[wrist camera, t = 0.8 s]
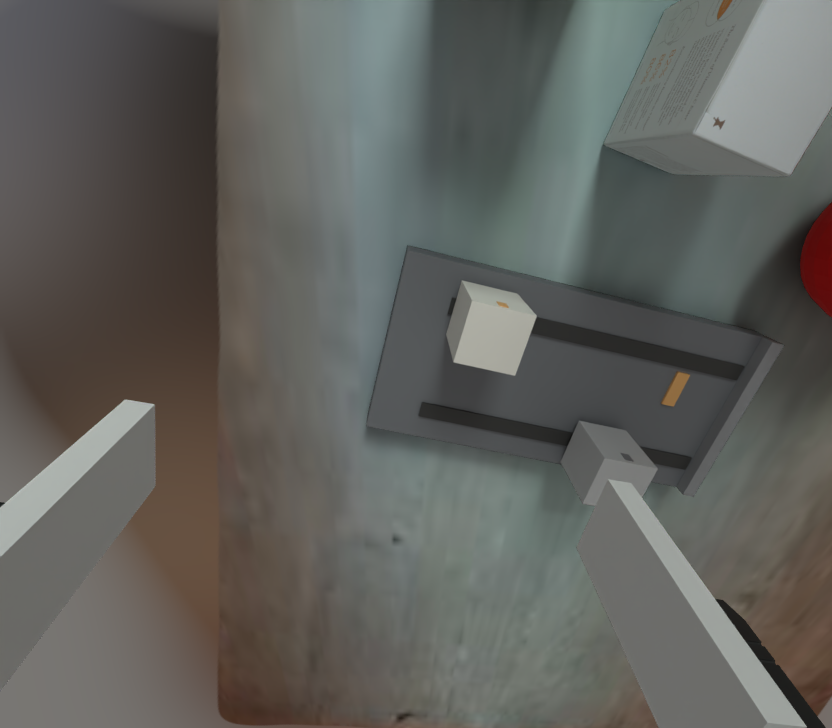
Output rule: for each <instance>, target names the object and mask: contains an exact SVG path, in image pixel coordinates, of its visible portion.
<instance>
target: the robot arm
mask: <svg viewBox="0 0 832 728" xmlns="http://www.w3.org/2000/svg"><path fill="white" fill-rule="evenodd" d="M154 487H155V405H154V404H149V403H143V402H137V401H131V400H124V401H123V402H122V403H121V404H120V405H118V406H117V407H116V408H115V409H114V410H113V411H111V412H110V413H109V414H108V415H107V416H106V417H105V418H103V419H102V420H101V421H100V422H99V423H97V424H96V425H95V426H94V427H93V428H92V429H91V430H89V431H88V432H87V433H86V434H85V435H84V436H83V437H81V438H80V439H79V440H78V441H77V442H76V443H74V444H73V445H72V446H71V447H70V448H69V449H67V450H66V451H65V452H64V453H63V454H62V455H61V456H59V457H58V458H57V459H56V460H55V461H54V462H52V463H51V464H50V465H49V466H48V467H47V468H45V469H44V470H43V471H42V472H41V473H40V474H39V475H37V476H36V477H35V478H34V479H33V480H32V481H30V482H29V483H28V484H27V485H26V486H25V487H24V488H22V489H21V490H20V491H19V492H18V493H16V494H15V495H14V496H13V497H12V498H11V499H9V500H8V501H7V502H6V503H1V502H0V691H1V690H2V688H3V687H4V686H5V684H6V683H7V682H8V680H9V679H10V678H11V676H12V675H13V674H14V673H15V671H16V670H17V668H18V667H19V666H20V665H21V663H22V662H23V661H24V659H25V658H26V656H27V655H28V654H29V653H30V651H31V650H32V649H33V647H34V646H35V645H36V643H37V642H38V641H39V639H40V638H41V637H42V635H43V634H44V633H45V631H46V630H47V629H48V628H49V626H50V625H51V624H52V622H53V621H54V620H55V618H56V617H57V616H58V614H59V613H60V612H61V610H62V609H63V608H64V606H65V605H66V604H67V602H68V601H69V600H70V598H71V597H72V596H73V594H74V593H75V592H76V590H77V589H78V588H79V586H80V585H81V584H82V583H83V581H84V580H85V579H86V577H87V576H88V575H89V573H90V572H91V571H92V569H93V568H94V567H95V565H96V564H97V562H98V561H99V560H100V559H101V557H102V556H103V555H104V553H105V552H106V551H107V549H108V548H109V546H110V545H111V544H112V543H113V541H114V540H115V539H116V538H117V536H118V535H119V534H120V532H121V531H122V529H123V528H124V527H125V526H126V524H127V523H128V522H129V520H130V519H131V518H132V516H133V515H134V514H135V512H136V511H137V509H138V508H139V507H140V506H141V504H142V503H143V502H144V500H145V499H146V498H147V496H148V495H149V494H150V492H151V491H152V490H153V489H154ZM576 548H577V550H578V552H579V554H580V557H581V559H582V561H583V563H584V565H585V567H586V570H587V572H588V574H589V576H590V578H591V581H592V583H593V585H594V587H595V589H596V592H597V594H598V596H599V598H600V600H601V602H602V605H603V607H604V609H605V611H606V613H607V616H608V618H609V620H610V622H611V624H612V627H613V629H614V631H615V633H616V635H617V637H618V640H619V642H620V644H621V646H622V648H623V651H624V653H625V655H626V657H627V659H628V661H629V664H630V666H631V668H632V670H633V672H634V675H635V677H636V679H637V681H638V683H639V686H640V688H641V690H642V692H643V694H644V696H645V699H646V701H647V703H648V705H649V707H650V710H651V712H652V714H653V716H654V718H655V720H656V723H657V725H658V727H659V728H825V726H824V725H823V724H822V722H821V721H820V720H819V718H818V717H817V716H816V714H815V713H814V712H813V710H812V709H811V708H810V706H809V705H808V704H807V702H806V701H805V700H804V698H803V697H802V696H801V694H800V693H799V692H798V690H797V689H796V688H795V686H794V685H793V684H792V682H791V681H790V680H789V678H788V677H787V676H786V674H785V673H784V672H783V670H782V669H781V668H780V666H779V665H776V664H775V660H774V658H773V657H772V656H771V654H770V653H769V652H768V650H767V649H766V648H765V647H764V646H762V645H761V641H760V640H759V638H758V637H757V636H756V634H755V633H754V632H753V630H752V629H751V628H750V627H749V625H748V624H747V623H746V621H745V620H744V619H743V618H742V617H741V616H740V615H739V614H737V613H736V612H735V611H734V610H733V609H732V608H731V607H730V606H729V605H728V604H727V603H725V602H724V601H723V600H718V599H714V597H713V596H712V594H711V593H710V592H709V590H708V589H707V587H706V586H705V585H704V583H703V582H702V580H701V579H700V578H699V576H698V575H697V574H696V572H695V571H694V569H693V568H692V567H691V565H690V564H689V562H688V561H687V560H686V558H685V557H684V556H683V554H682V553H681V551H680V550H679V549H678V547H677V546H676V544H675V543H674V542H673V540H672V539H671V537H670V536H669V535H668V533H667V532H666V531H665V529H664V528H663V526H662V525H661V524H660V522H659V521H658V519H657V518H656V517H655V515H654V514H653V512H652V511H651V510H650V508H649V507H648V506H647V504H646V503H645V501H644V500H643V499H642V497H641V496H640V494H639V493H638V492H637V490H636V489H635V488H634V486H633V485H632V483H628V482H622V481H616V480H610V479H608V480H607V482H606V484H605V486H604V488H603V491H602V493H601V495H600V497H599V499H598V502H597V504H596V506H595V508H594V510H593V512H592V515H591V517H590V519H589V521H588V523H587V525H586V528H585V530H584V532H583V534H582V536H581V539H580V541H579V543H578V545H577V547H576Z"/></svg>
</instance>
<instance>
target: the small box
mask: <svg viewBox="0 0 832 728" xmlns="http://www.w3.org/2000/svg"><path fill="white" fill-rule="evenodd" d="M831 108H832V0H680V1H679V2H677V3H675V4H674V5H672V6H670V7H669V8H667V9H665V11H664V12H663V15H662V17H661V19H660V22H659V24H658V26H657V28H656V31H655V33H654V35H653V37H652V39H651V41H650V44H649V46H648V48H647V50H646V52H645V54H644V57H643V59H642V61H641V63H640V65H639V68H638V70H637V72H636V74H635V76H634V78H633V81H632V83H631V85H630V87H629V89H628V91H627V94H626V96H625V98H624V100H623V102H622V105H621V107H620V109H619V111H618V113H617V116H616V118H615V120H614V122H613V124H612V126H611V129H610V131H609V133H608V135H607V137H606V139H605V141H604V145H605V146H607V147H609V148H612V149H614V150H616V151H619V152H621V153H623V154H626V155H628V156H631V157H633V158H635V159H638V160H640V161H642V162H645V163H647V164H649V165H652V166H654V167H656V168H659V169H661V170H663V171H666V172H668V173H670V174H674V175H718V176H769V177H784V176H790V175H791V174H792V173H793V171H794V169H795V167H796V166H797V164H798V162H799V161H800V159H801V158H802V156H803V154H804V153H805V151H806V149H807V148H808V146H809V144H810V143H811V141H812V140H813V138H814V136H815V135H816V133H817V131H818V130H819V128H820V126H821V125H822V123H823V121H824V120H825V118H826V117H827V115H828V113H829V112H830V110H831Z"/></svg>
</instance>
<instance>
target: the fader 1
mask: <svg viewBox="0 0 832 728" xmlns="http://www.w3.org/2000/svg"><path fill="white" fill-rule="evenodd" d="M536 317H537V315H536V314H535V313H534V312H533V311H532V310H531V309H530V307H529V306H528V305H527V304H526V303H525V302H524V301H523V299H522V298H521V297H520V296H519V295H518V294H517V293H513V292H508V291H504V290H500V289H496V288H492V287H488V286H484V285H479V284H475V283H471V282H467V281H463V280H462V281H461V285H460V288H459V292H458V295H457V299H456V302H455V306H454V309H453V313H452V316H451V319H450V323H449V326H448V330H447V333H446V336H447V339H448V343H449V347H450V351H451V355H452V359H453V362H454V363H459V364H463V365H468V366H472V367H477V368H482V369H486V370H491V371H495V372H500V373H505V374H509V375H514V376H515V375H516V372H517V369H518V366H519V364H520V361H521V358H522V355H523V353H524V350H525V347H526V345H527V342H528V339H529V336H530V334H531V331H532V328H533V325H534V323H535V320H536Z"/></svg>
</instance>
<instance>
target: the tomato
mask: <svg viewBox="0 0 832 728" xmlns="http://www.w3.org/2000/svg"><path fill="white" fill-rule="evenodd" d="M800 271H801V278H802V281H803V284H804V287H805V289H806V291H807V292H808V294H809V295H810V297H811V298H812V299H813V300H814V301H815V302H816V303H817V304H818V305H819V306H820V307H821V308H822V309H823V310H824V312H825V313H826V314H827V315H829V316H830V317H832V202H831V203H830V204H829V205H828V206H827V208H826V209H825V210H824V211H823V212H822V213H821V214H820V216H819V217H818V218H817V220H816V221H815V222H814V224H813V225H812V227H811V229H810V231H809V232H808V234H807V236H806V239H805V242H804V245H803V248H802V253H801V258H800Z"/></svg>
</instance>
